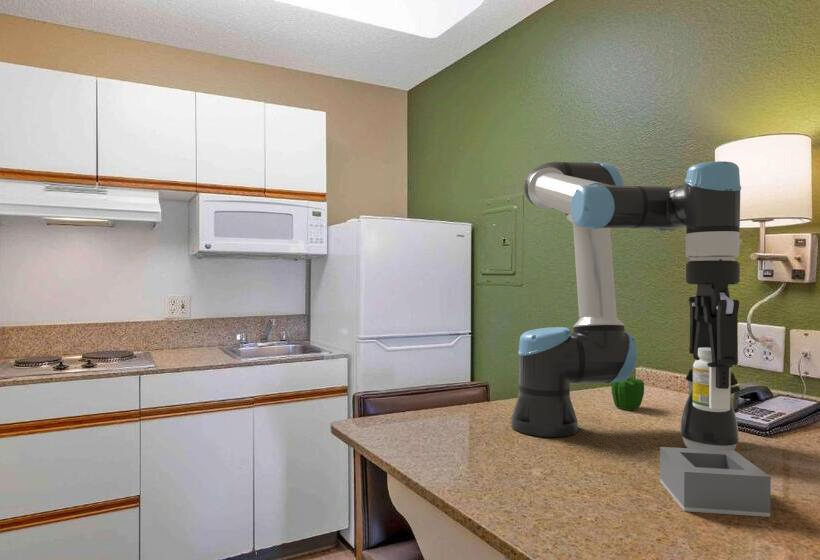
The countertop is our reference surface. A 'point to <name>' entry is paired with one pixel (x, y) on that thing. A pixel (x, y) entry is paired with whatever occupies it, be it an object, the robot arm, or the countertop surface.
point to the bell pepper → (628, 393)
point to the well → (715, 481)
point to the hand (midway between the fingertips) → (711, 403)
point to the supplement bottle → (703, 381)
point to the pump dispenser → (709, 427)
